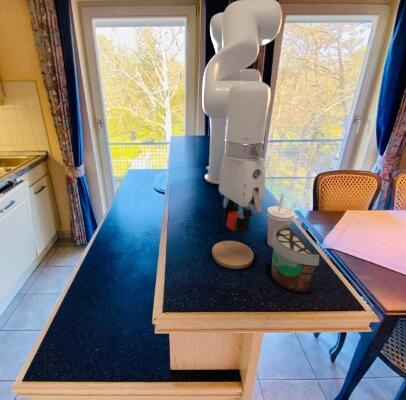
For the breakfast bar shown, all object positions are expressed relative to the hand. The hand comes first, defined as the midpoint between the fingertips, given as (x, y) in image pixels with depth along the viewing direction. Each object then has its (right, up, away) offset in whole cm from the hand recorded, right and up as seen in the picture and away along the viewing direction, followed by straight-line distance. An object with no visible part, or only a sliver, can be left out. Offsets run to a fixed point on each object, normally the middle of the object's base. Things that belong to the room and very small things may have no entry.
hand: (235, 226), depth 61 cm
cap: (0, 0, 0) cm, 0 cm away
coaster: (0, -8, +4) cm, 8 cm away
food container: (+9, -11, -3) cm, 15 cm away
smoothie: (+12, -6, +8) cm, 16 cm away
